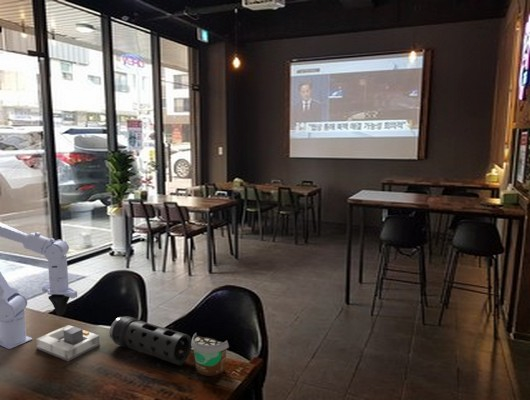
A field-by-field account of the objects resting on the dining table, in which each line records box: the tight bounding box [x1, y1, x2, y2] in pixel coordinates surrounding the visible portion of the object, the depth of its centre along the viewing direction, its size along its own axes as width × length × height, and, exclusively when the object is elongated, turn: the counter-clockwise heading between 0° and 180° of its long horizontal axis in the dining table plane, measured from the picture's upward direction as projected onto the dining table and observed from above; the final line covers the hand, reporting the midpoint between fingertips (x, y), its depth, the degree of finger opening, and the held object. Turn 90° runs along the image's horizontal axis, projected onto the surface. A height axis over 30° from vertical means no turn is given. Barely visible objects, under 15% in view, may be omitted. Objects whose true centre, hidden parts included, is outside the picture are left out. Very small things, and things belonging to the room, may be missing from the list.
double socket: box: [35, 324, 101, 362], centre depth 138 cm, size 16×12×4 cm
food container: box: [191, 332, 230, 377], centre depth 124 cm, size 12×6×10 cm, turn 65°
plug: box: [64, 326, 84, 345], centre depth 136 cm, size 4×4×6 cm
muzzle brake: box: [109, 315, 193, 367], centre depth 134 cm, size 10×28×10 cm, turn 61°
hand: (60, 314), depth 142 cm, fingers closed
